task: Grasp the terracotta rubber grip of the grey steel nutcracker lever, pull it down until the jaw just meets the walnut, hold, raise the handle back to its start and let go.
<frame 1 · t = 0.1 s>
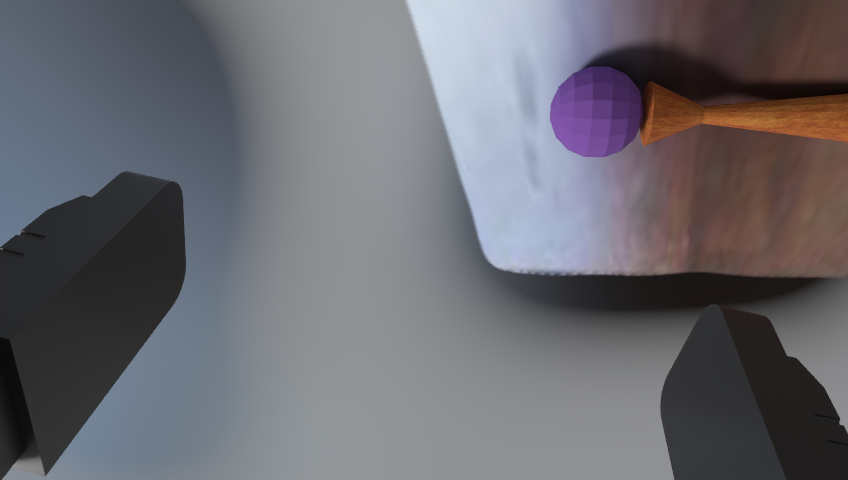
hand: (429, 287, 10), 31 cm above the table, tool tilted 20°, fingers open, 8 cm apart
two-tone long tapered part: (704, 88, 44), on the table
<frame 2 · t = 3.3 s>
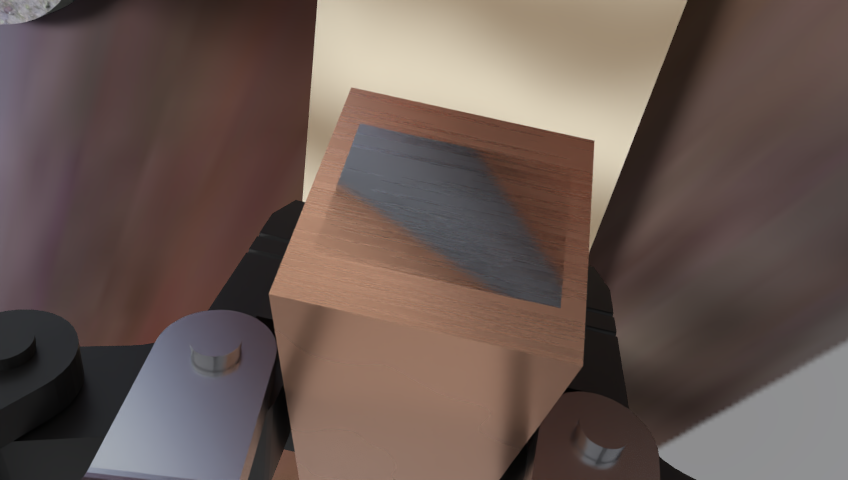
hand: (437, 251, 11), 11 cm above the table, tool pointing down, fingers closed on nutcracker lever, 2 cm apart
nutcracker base: (460, 155, 22), on the table
nutcracker lever: (399, 430, 13), point 12 cm above the table, hinge at -20.0°, touching gripper
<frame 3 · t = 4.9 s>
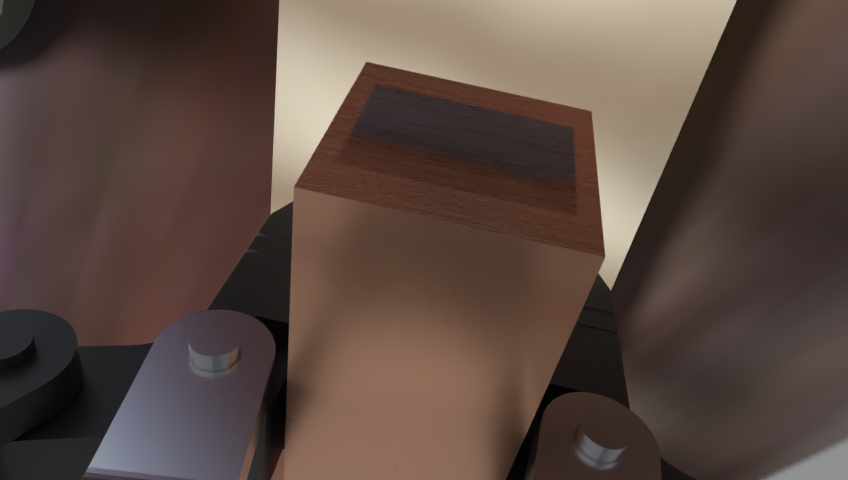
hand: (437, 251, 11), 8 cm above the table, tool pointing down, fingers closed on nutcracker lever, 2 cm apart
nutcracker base: (446, 219, 20), on the table
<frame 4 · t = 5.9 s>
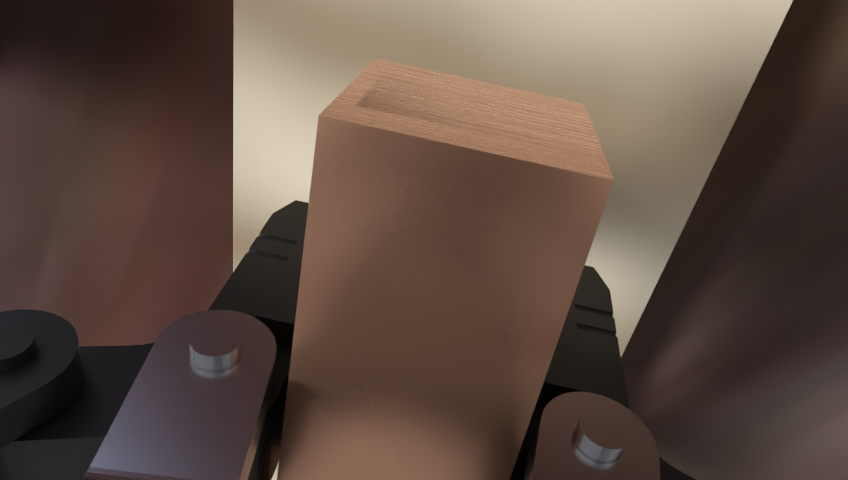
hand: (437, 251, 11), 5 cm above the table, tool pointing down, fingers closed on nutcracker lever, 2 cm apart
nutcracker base: (435, 267, 17), on the table
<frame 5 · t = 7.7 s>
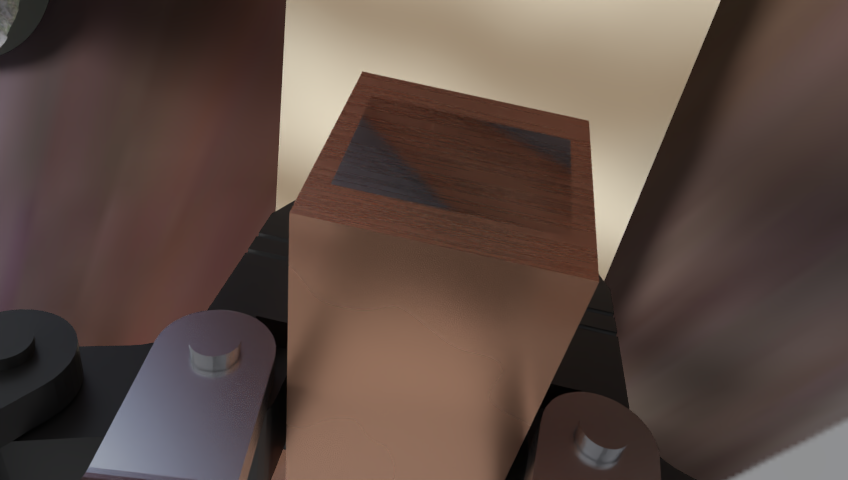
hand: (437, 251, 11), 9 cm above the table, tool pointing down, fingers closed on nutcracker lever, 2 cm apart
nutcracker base: (446, 212, 20), on the table
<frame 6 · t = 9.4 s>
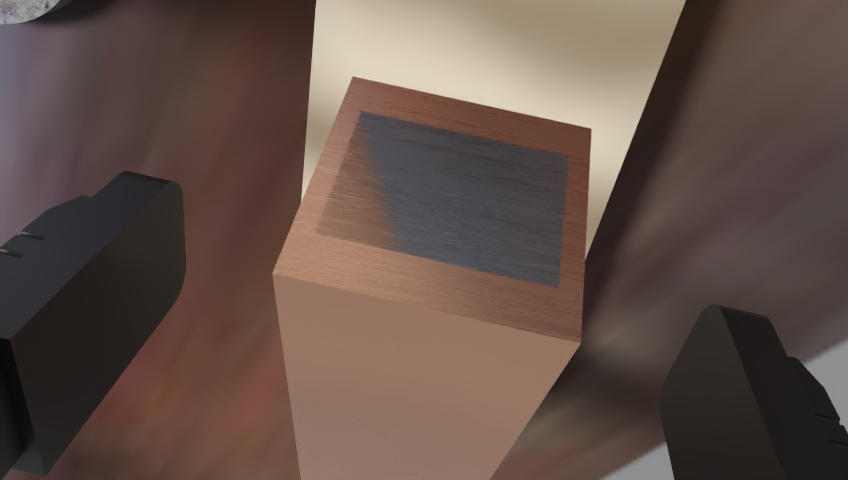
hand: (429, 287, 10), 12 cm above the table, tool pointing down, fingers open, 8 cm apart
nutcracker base: (458, 155, 22), on the table
nutcracker lever: (398, 426, 13), point 12 cm above the table, hinge at -19.4°
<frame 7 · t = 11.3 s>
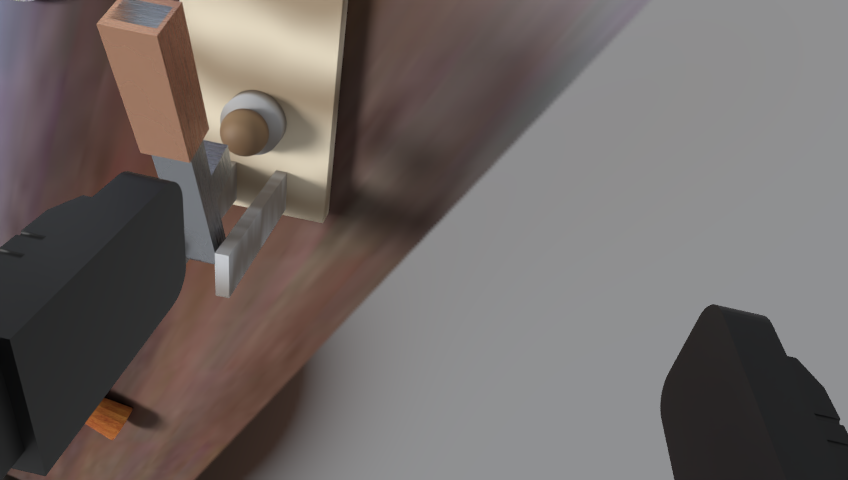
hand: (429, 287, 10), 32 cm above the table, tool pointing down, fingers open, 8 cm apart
two-tone long tapered part: (39, 354, 61), on the table
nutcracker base: (266, 68, 42), on the table
nutcracker lever: (188, 146, 33), point 12 cm above the table, hinge at -19.4°
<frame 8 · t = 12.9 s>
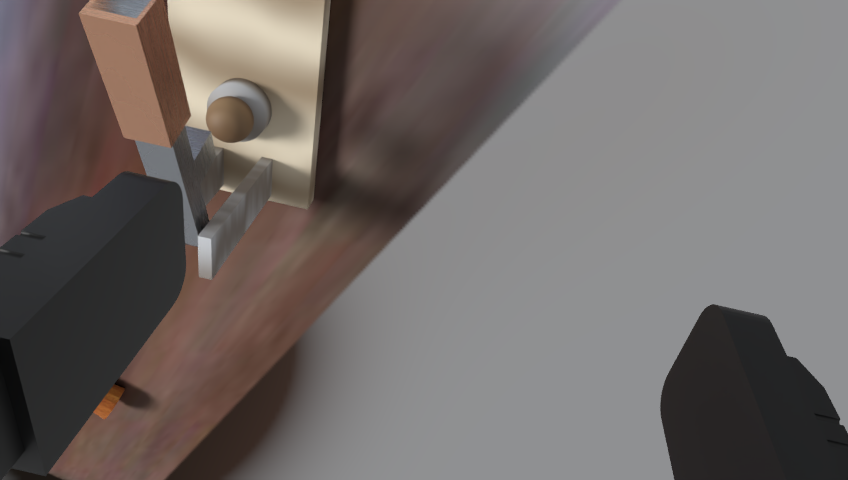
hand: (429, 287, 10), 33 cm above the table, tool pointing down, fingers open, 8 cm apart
two-tone long tapered part: (34, 335, 62), on the table
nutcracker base: (252, 57, 43), on the table
nutcracker lever: (171, 132, 34), point 12 cm above the table, hinge at -19.4°
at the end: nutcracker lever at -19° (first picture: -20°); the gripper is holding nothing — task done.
